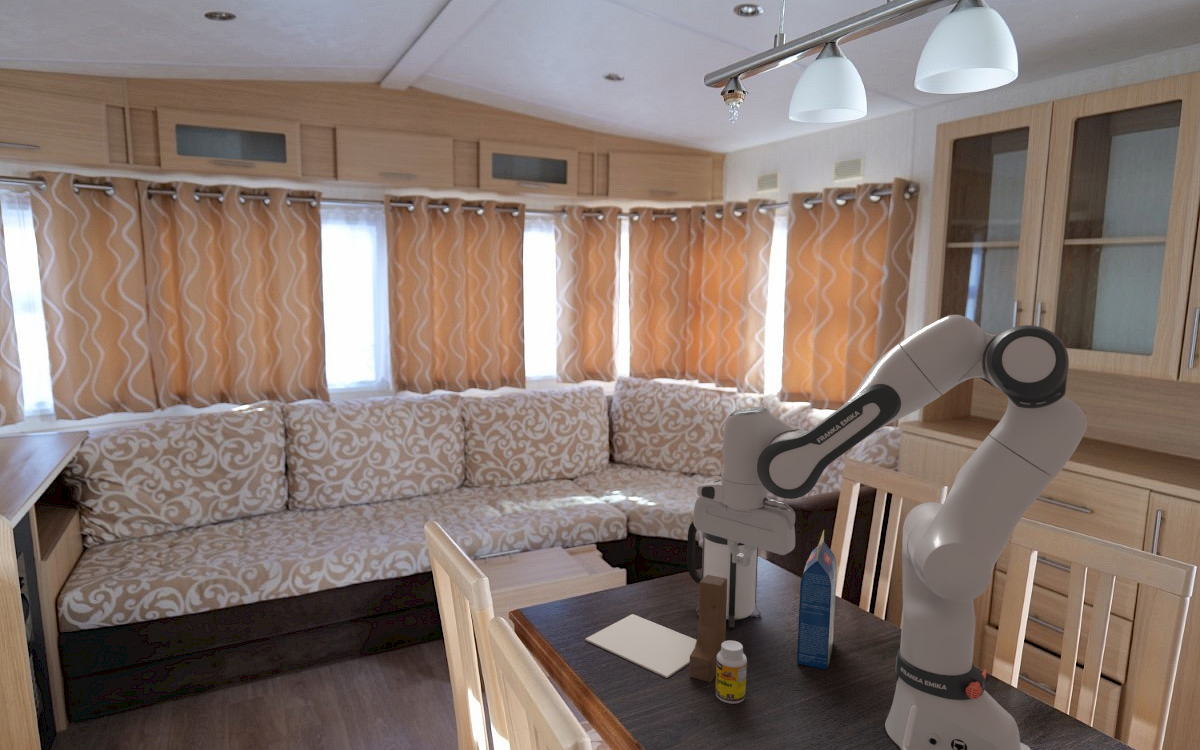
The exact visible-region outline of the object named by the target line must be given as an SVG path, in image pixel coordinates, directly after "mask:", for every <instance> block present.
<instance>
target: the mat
mask: <svg viewBox="0 0 1200 750" xmlns="http://www.w3.org/2000/svg"><path fill="white" fill-rule="evenodd" d="M584 640H585V641H586V642H588V643H590V644H592V645H594V646H597V647H599V648H601V649H603V650H606V651H608V652H610V653H612V654H613V655H616V656H618V657H620V658H623V659H625V660H626V661H629V662H631V663H634V664H635V665H637V666H640V667H641V668H644V669H646V670H648V671H651V672H653V673H655V674H656V675H659V676H662V677H664V678H666V679H668V678H669V677H671V676H672V675H674V674H676V673H677V672H679V671H680V670H682V669H684V668H685V667H686V666H689V664H690V655H691V653H692V652H693V650H694V648H695V645H696V641H697V639H696V638H693V637H691V636H688V635H687V634H686V635H685V634H684V633H683V634H682V633H681V632H678V631H676V630H673V629H671V628H668V627H665V626H663V625H660V624H658V623H656V622H654V621H651V620H649V619H645V618H644V617H641V616H639V615H636V614H634V613H632V614H629V615H627V616H625V617H624V618H622V619H620V620H618V621H616V622H614V623H613V624H610V625H608V626H607V627H605V628H603V629H601V630H599V631H597V632H595V633H593V634H591V635H589V636H587V637H586V638H585V639H584Z"/></svg>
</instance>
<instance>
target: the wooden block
mask: <svg viewBox="0 0 1200 750" xmlns="http://www.w3.org/2000/svg"><path fill="white" fill-rule="evenodd" d="M698 590H699V592H698V593H699V594H698V606H699V610H698V613H699V616H698V622H697V623H698V624H697V625H698V626H697V627H698V628H697V636H696V638H697V639H696V640H697V641H696V645H695V648H694V650H693V652H692V653H691V655H690V663H689V664H688V666H689V670H688V671H689V673H688V676H689V677H690V678H692V679H696V680H700V681H704V682H707V683H711V682H712V681H713V679H714V678H715V677H716V659H717V654H718V652H719V651H721V644H722V643H723V642H724V641H727V639H726V634H727V633H726V632H727V631H726V630H727V619H726V606H727V579H726V578H721V577H717V576H712V575H706V576H705V577H704V578H703V579H702V580H701V581H700V584H699V589H698Z"/></svg>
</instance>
